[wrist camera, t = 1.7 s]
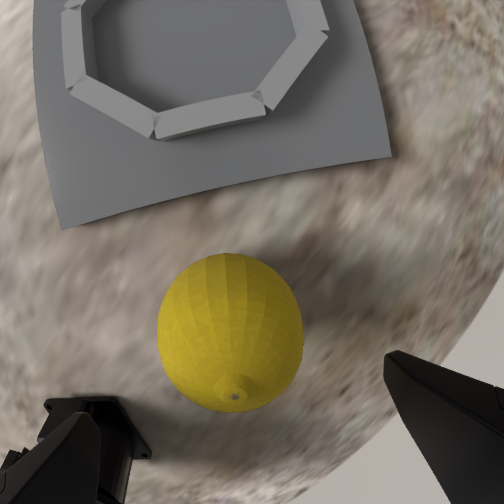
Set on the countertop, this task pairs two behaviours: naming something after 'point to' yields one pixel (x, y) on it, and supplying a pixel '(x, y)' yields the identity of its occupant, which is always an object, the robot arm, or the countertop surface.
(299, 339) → the lemon
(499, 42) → the countertop surface
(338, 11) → the ring plate
